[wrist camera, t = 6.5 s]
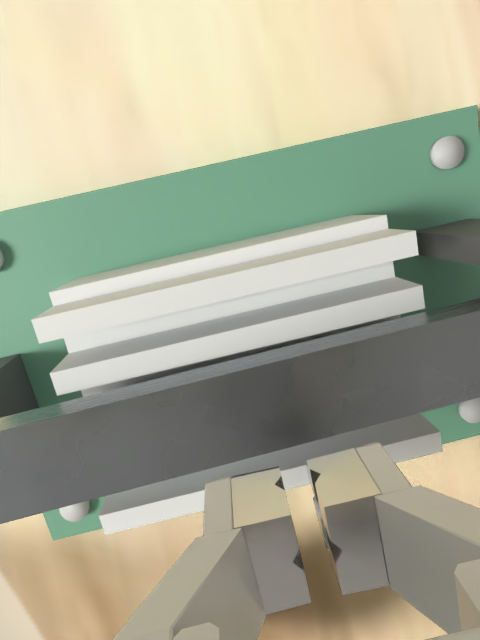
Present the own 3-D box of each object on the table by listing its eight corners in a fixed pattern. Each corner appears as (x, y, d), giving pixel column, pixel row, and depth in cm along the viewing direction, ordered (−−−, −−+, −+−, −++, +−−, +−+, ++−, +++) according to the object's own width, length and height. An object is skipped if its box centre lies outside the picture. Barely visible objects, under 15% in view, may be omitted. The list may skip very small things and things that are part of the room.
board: (465, 109, 18) (682, 22, 10) (493, 421, 21) (673, 547, 13) (-55, 226, 17) (-280, 235, 9) (58, 528, 21) (-34, 731, 13)
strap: (556, 270, 13) (586, 274, 12) (561, 365, 14) (589, 376, 13) (-29, 415, 12) (-47, 433, 11) (9, 509, 13) (-5, 533, 12)
